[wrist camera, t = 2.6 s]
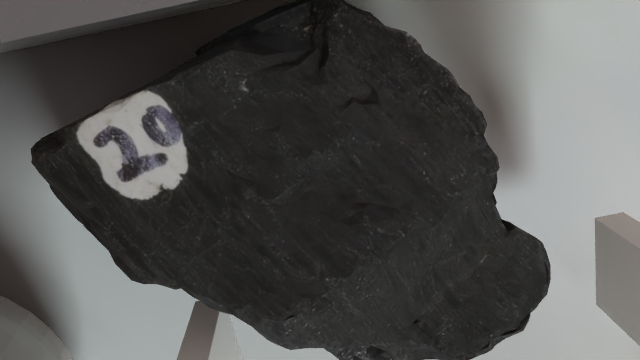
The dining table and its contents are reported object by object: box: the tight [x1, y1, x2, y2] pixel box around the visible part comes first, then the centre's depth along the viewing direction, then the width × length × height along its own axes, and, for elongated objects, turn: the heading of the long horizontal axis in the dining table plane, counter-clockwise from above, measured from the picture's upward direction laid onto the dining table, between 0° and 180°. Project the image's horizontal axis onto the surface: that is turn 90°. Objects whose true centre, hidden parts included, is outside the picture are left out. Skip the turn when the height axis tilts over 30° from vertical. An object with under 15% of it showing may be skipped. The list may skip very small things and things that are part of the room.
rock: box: [31, 0, 551, 360], centre depth 13 cm, size 11×8×10 cm
